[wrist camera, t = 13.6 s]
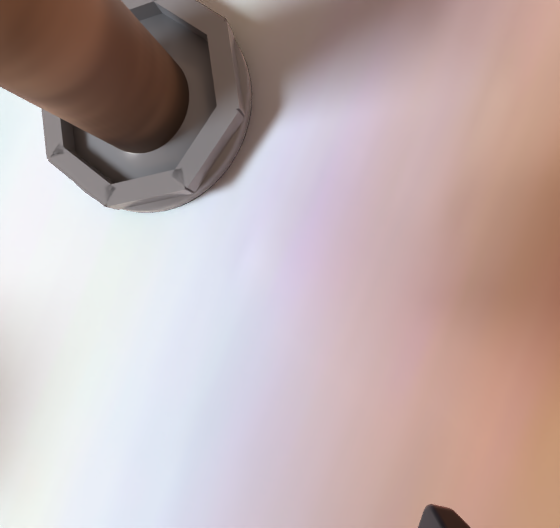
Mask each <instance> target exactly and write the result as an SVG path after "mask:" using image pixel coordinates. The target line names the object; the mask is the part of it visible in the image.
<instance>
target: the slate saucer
mask: <svg viewBox="0 0 560 528" xmlns="http://www.w3.org/2000/svg"><path fill="white" fill-rule="evenodd" d="M121 1H122V2H123V3H124V4H125V5H126V6H127V8H128V9H129V10H130V11H131V12H132V13H133V14H134V15H135V17H136V18H137V19H138V20H139V21H140V22H141V23H142V24H143V26H144V27H145V28H146V29H147V30H148V31H149V32H150V33H151V35H152V36H153V37H154V38H155V39H156V40H157V41H158V43H159V44H160V45H161V46H162V47H163V48H164V49H165V50H166V52H167V53H168V54H169V55H170V56H171V57H172V58H173V59H174V61H175V62H176V63H177V64H178V65H179V66H180V68H181V69H182V71H183V73H184V74H185V77H186V79H187V83H188V87H189V105H188V110H187V114H186V116H185V119H184V121H183V123H182V125H181V127H180V129H179V130H178V131H177V133H176V134H175V135H174V136H173V137H172V138H171V139H170V140H169V141H168V142H167V143H166V144H164V145H163V146H161V147H160V148H158V149H156V150H153V151H150V152H146V153H139V154H137V153H129V152H125V151H122V150H120V149H118V148H116V147H114V146H112V145H111V144H109V143H107V142H105V141H103V140H101V139H99V138H97V137H95V136H93V135H91V134H90V133H88V132H86V131H84V130H82V129H80V128H78V127H76V126H74V125H72V124H70V123H69V122H67V121H65V120H63V119H61V118H59V117H57V116H55V115H53V114H51V113H49V112H48V111H46V110H44V109H42V117H43V126H44V136H45V145H46V155H47V159H49V160H48V161H49V162H50V163H52V164H53V165H54V166H55V167H57V168H58V169H59V170H60V171H61V172H63V173H64V174H65V175H66V176H68V177H69V178H70V179H71V180H73V181H74V182H75V183H76V184H77V185H78V186H79V187H80V188H81V189H82V190H83V191H84V192H85V193H87V194H88V195H90V196H91V197H93V198H94V199H96V200H97V201H99V202H100V203H101V204H102V205H104V206H106V207H109V208H113V209H117V210H119V209H123V210H127V211H133V212H139V213H153V212H160V211H166V210H169V209H173V208H176V207H179V206H181V205H183V204H186V203H188V202H190V201H192V200H193V199H195V198H197V197H198V196H200V195H201V194H203V193H204V192H205V191H206V190H208V189H209V188H210V187H211V186H212V185H213V184H214V183H215V182H216V181H217V180H218V179H219V178H220V177H221V176H222V175H223V174H224V173H225V171H226V170H227V169H228V167H229V166H230V165H231V163H232V161H233V160H234V158H235V156H236V155H237V153H238V151H239V149H240V147H241V144H242V142H243V140H244V137H245V134H246V131H247V127H248V124H249V119H250V113H251V101H252V91H251V80H250V75H249V71H248V67H247V64H246V61H245V58H244V56H243V53H242V51H241V50H240V48H239V46H238V44H237V42H236V40H235V39H234V34H233V31H232V29H231V27H230V25H229V24H228V22H227V20H226V19H225V18H224V17H222V16H221V15H219V14H217V13H216V12H214V11H212V10H211V9H209V8H207V7H206V6H204V5H203V4H201V3H199V2H197V1H196V0H121Z"/></svg>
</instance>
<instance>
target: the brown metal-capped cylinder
mask: <svg viewBox="0 0 560 528" xmlns="http://www.w3.org/2000/svg"><path fill="white" fill-rule="evenodd" d="M0 87H2V88H4V89H6V90H7V91H9V92H11V93H13V94H15V95H17V96H19V97H21V98H23V99H25V100H27V101H28V102H30V103H32V104H34V105H36V106H38V107H40V108H42V109H44V110H46V111H48V112H49V113H51V114H53V115H55V116H57V117H59V118H61V119H63V120H65V121H67V122H69V123H70V124H72V125H74V126H76V127H78V128H80V129H82V130H84V131H86V132H88V133H90V134H91V135H93V136H95V137H97V138H99V139H101V140H103V141H105V142H107V143H109V144H111V145H112V146H114V147H116V148H118V149H120V150H122V151H125V152H129V153H137V154H139V153H146V152H150V151H153V150H156V149H158V148H160V147H161V146H163V145H164V144H166V143H167V142H168V141H169V140H170V139H171V138H172V137H173V136H174V135H175V134H176V133H177V131H178V130H179V129H180V127H181V125H182V123H183V121H184V119H185V116H186V114H187V110H188V105H189V87H188V83H187V79H186V77H185V74H184V73H183V71H182V69H181V68H180V66H179V65H178V64H177V63H176V62H175V61H174V59H173V58H172V57H171V56H170V55H169V54H168V53H167V52H166V50H165V49H164V48H163V47H162V46H161V45H160V44H159V43H158V41H157V40H156V39H155V38H154V37H153V36H152V35H151V33H150V32H149V31H148V30H147V29H146V28H145V27H144V26H143V24H142V23H141V22H140V21H139V20H138V19H137V18H136V17H135V15H134V14H133V13H132V12H131V11H130V10H129V9H128V8H127V6H126V5H125V4H124V3H123V2H122V1H121V0H0Z"/></svg>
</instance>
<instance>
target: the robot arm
mask: <svg viewBox="0 0 560 528" xmlns="http://www.w3.org/2000/svg"><path fill="white" fill-rule="evenodd" d="M418 528H470V527H469V526H468V525H467V524H466V523H465V522H464V520H463V519H462V518H461V517H460V516H459V515H458V514H457V513H456V512H455V511H453V510H452V509H450V508H447V507H442V506H438V505H434V504H430V505H427V506H426V507H425V509H424V512H423V515H422V518H421V520H420V523H419V526H418Z"/></svg>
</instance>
